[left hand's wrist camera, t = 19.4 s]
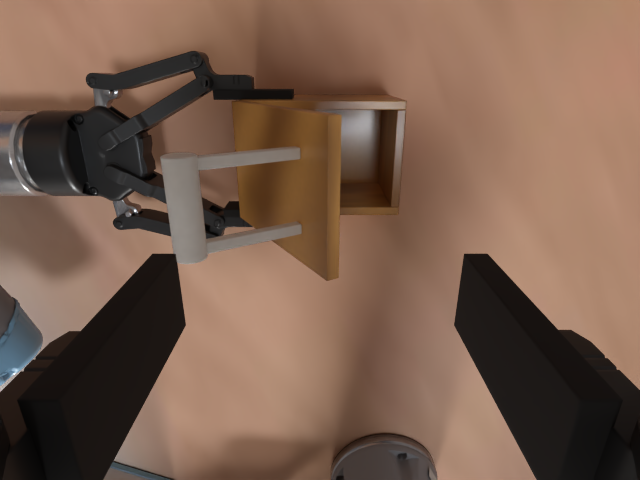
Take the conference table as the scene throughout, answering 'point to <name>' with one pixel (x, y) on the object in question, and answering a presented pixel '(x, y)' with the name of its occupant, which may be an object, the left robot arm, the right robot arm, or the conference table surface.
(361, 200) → the chest
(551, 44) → the conference table surface
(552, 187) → the conference table surface
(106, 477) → the book
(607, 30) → the conference table surface
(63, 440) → the left robot arm
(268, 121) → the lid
